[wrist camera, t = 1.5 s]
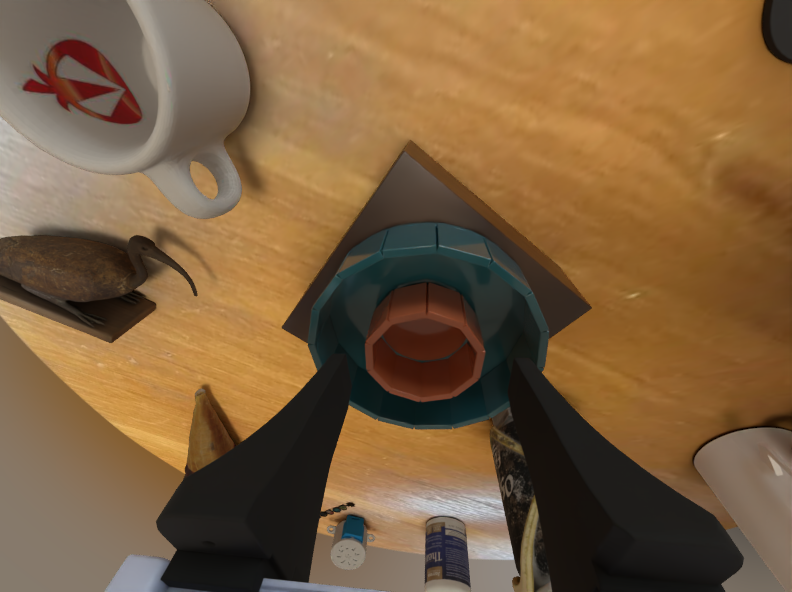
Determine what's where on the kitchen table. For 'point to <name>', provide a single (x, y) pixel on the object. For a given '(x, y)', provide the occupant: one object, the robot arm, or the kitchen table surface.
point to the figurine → (80, 281)
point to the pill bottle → (446, 556)
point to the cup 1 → (128, 90)
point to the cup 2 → (755, 490)
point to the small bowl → (424, 343)
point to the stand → (451, 204)
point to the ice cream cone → (205, 436)
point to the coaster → (778, 28)
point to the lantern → (519, 506)
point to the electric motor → (349, 543)
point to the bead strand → (336, 510)
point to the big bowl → (427, 262)
